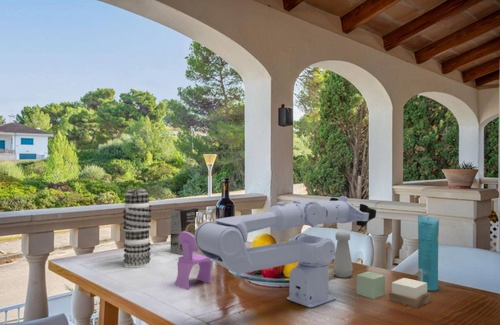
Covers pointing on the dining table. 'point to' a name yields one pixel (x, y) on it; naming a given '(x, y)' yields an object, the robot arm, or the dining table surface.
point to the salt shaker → (342, 256)
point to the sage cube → (371, 285)
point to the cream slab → (409, 288)
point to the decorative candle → (137, 228)
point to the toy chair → (191, 262)
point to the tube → (428, 251)
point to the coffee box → (181, 226)
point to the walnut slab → (410, 299)
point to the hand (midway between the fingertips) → (363, 210)
